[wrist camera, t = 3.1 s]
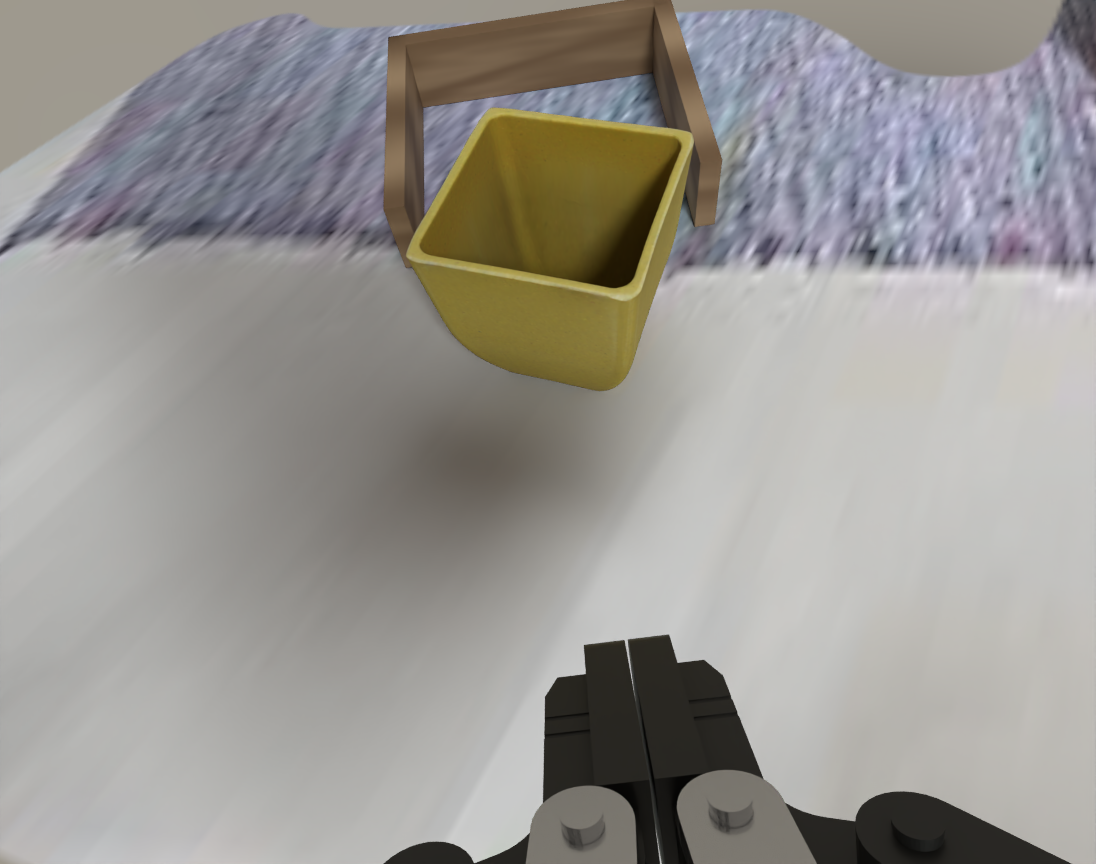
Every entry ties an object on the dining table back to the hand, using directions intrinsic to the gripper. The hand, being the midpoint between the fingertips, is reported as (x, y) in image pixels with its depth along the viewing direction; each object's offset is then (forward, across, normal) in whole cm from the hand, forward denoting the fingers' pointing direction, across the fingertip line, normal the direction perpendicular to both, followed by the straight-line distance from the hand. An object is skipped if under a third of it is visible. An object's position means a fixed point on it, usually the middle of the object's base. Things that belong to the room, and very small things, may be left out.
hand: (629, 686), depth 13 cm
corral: (+32, 0, -12) cm, 34 cm away
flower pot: (+24, 0, -3) cm, 24 cm away
